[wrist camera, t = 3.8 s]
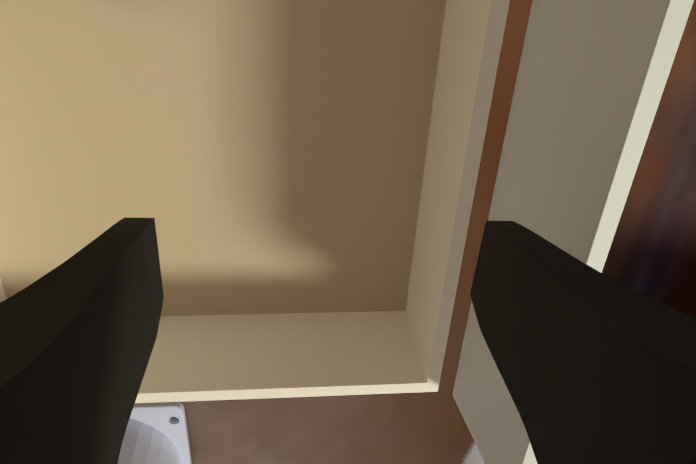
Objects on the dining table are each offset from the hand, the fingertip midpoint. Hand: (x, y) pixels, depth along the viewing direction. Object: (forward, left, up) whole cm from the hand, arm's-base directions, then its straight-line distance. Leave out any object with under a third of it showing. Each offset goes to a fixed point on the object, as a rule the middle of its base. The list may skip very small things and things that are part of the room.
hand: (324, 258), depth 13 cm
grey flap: (0, -6, -3) cm, 7 cm away
